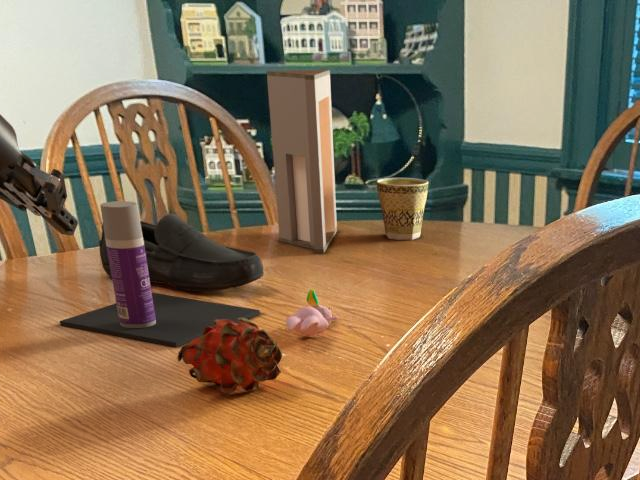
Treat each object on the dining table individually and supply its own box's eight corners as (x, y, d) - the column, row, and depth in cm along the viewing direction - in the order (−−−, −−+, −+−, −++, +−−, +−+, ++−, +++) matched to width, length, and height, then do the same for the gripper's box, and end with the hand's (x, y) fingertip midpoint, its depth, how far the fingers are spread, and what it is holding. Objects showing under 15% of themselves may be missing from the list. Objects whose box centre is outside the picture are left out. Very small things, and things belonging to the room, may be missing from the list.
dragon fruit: (292, 407, 103) (193, 416, 105) (298, 345, 106) (201, 355, 108) (265, 362, 95) (159, 372, 97) (272, 296, 98) (169, 308, 100)
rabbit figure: (301, 329, 128) (272, 342, 114) (300, 284, 126) (270, 293, 112) (345, 331, 128) (321, 345, 114) (344, 286, 125) (319, 295, 112)
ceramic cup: (408, 244, 172) (408, 186, 167) (367, 237, 177) (365, 181, 171) (446, 233, 182) (447, 179, 176) (405, 227, 186) (405, 174, 181)
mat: (60, 325, 123) (59, 320, 123) (151, 296, 137) (151, 292, 136) (176, 347, 116) (175, 342, 115) (260, 314, 130) (259, 309, 129)
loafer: (246, 301, 135) (239, 228, 130) (83, 282, 143) (70, 213, 137) (279, 285, 144) (273, 216, 138) (123, 268, 151) (112, 203, 146)
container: (154, 328, 121) (135, 207, 113) (117, 328, 120) (96, 207, 112) (158, 318, 125) (140, 200, 117) (122, 319, 124) (102, 201, 116)
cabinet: (323, 253, 164) (314, 75, 149) (270, 252, 164) (255, 73, 149) (337, 231, 182) (329, 69, 167) (289, 230, 182) (277, 68, 167)
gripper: (16, 93, 91) (125, 206, 107) (-74, 87, 96) (43, 197, 112) (-14, 156, 90) (100, 262, 106) (-104, 148, 95) (18, 250, 111)
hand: (70, 228), depth 109 cm, fingers closed
